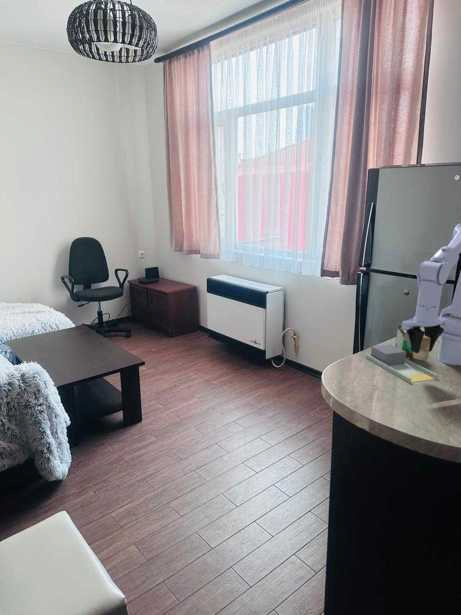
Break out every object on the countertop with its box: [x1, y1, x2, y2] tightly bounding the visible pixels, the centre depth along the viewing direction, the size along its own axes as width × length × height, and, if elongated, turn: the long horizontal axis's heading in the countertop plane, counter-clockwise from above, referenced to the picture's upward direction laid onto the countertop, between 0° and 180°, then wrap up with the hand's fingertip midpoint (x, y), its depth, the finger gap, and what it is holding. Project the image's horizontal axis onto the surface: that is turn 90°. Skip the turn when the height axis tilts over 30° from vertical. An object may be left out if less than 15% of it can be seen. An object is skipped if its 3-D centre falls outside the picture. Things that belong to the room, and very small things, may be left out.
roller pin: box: [412, 335, 431, 361], centre depth 121 cm, size 4×4×6 cm
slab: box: [370, 344, 406, 366], centre depth 135 cm, size 8×7×4 cm
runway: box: [364, 353, 438, 384], centre depth 130 cm, size 10×20×2 cm, turn 19°
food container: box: [394, 323, 414, 360], centre depth 140 cm, size 12×6×10 cm, turn 169°
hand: (421, 351), depth 121 cm, fingers closed on roller pin, 4 cm apart
